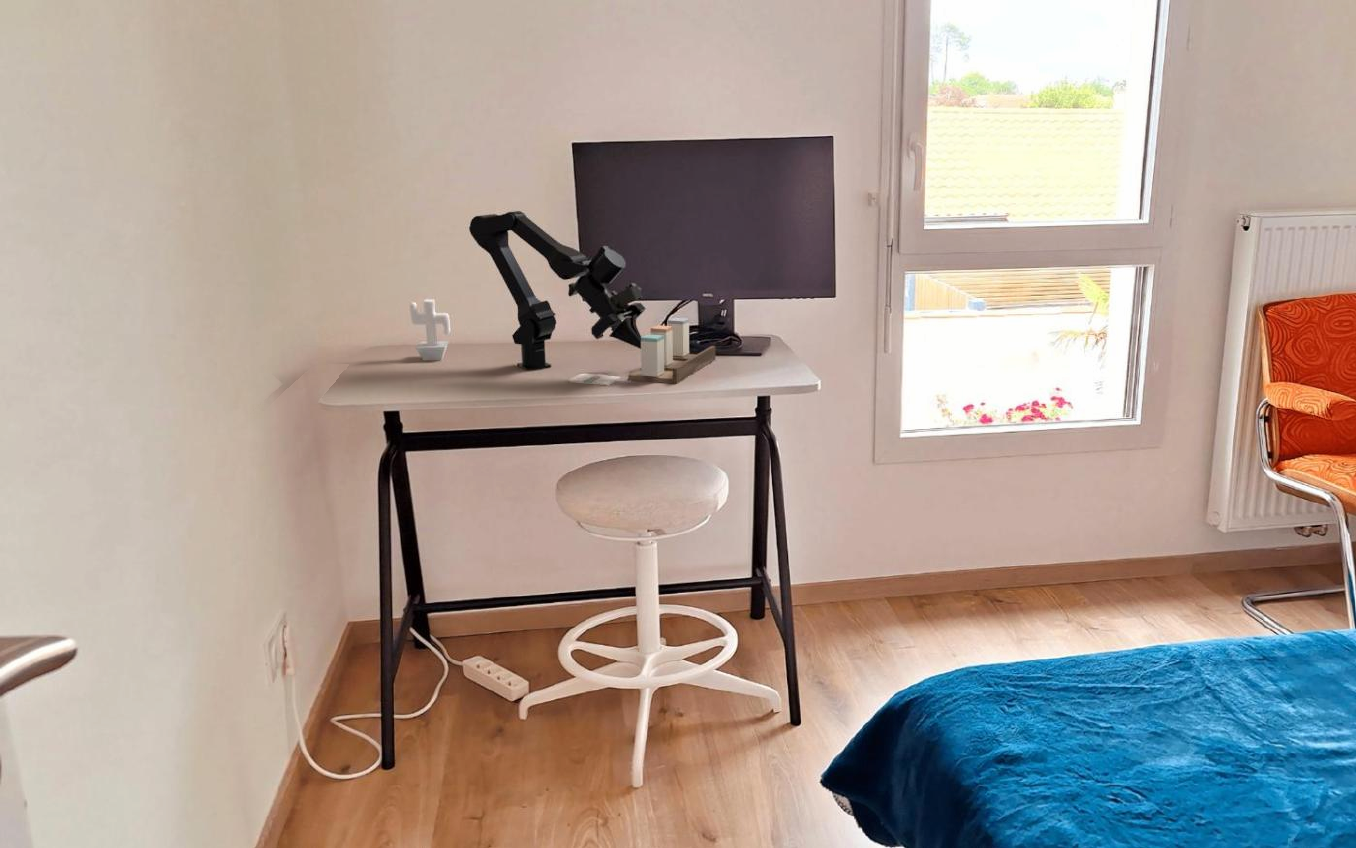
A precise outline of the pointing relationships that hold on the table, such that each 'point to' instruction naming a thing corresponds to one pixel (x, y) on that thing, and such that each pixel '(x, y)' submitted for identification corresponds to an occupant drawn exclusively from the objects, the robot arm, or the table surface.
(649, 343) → the white tall block
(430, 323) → the figurine
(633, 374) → the brown divided rack
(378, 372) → the table surface
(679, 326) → the grey topped white block
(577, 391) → the table surface
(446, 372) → the table surface
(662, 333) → the peach block
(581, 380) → the pattern card
